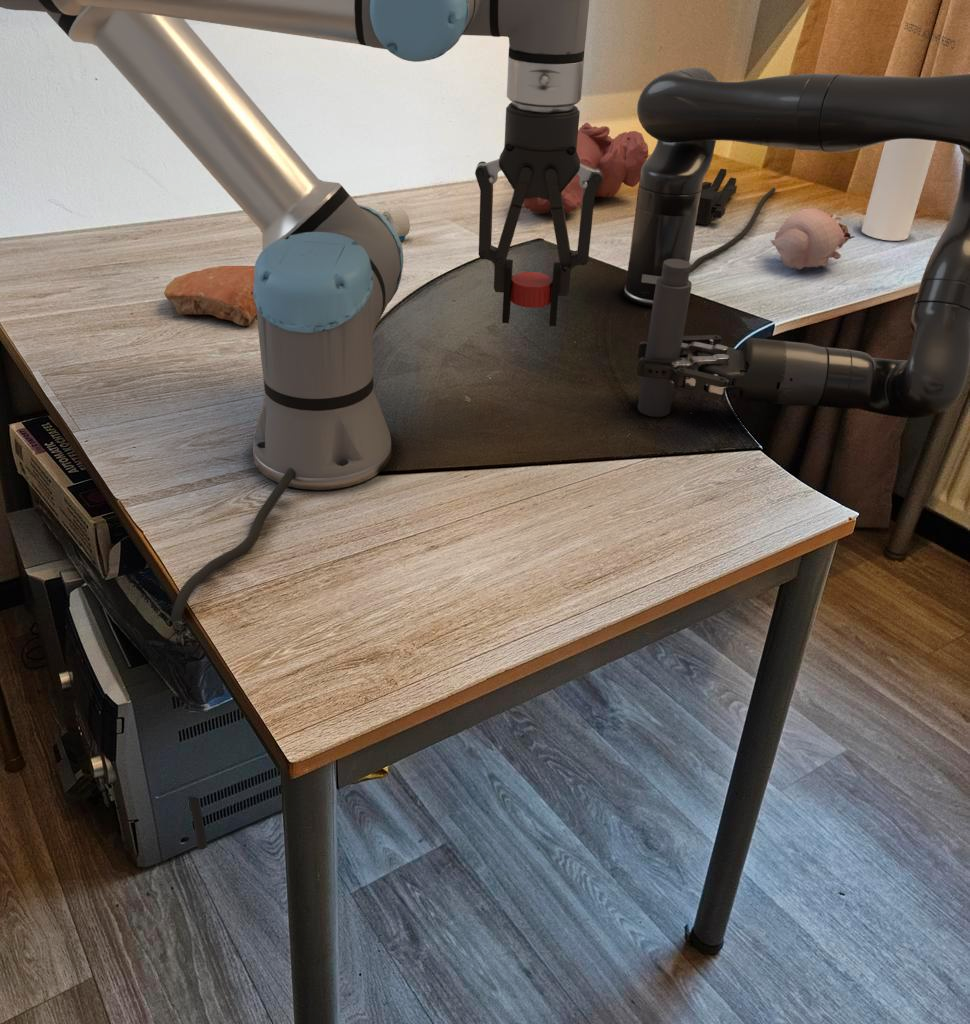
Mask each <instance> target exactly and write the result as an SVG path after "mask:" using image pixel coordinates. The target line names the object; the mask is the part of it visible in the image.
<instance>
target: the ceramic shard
mask: <svg viewBox="0 0 970 1024" xmlns="http://www.w3.org/2000/svg"><path fill="white" fill-rule="evenodd" d="M254 269H255V265H219V266H214V267H207V268H203V269H201V270H196V271H191V272H187V273H185V274H182V275H180V276H177V277H174V278H173V279H172V280H171V281H170V282H169V283H168V284H167V285H166V287H165V289H164V292H163V294H164V297H165V298H166V299H167V301H169V302H170V303H171V304H172V305H173V307H174V309H175V310H176V312H177V313H178V314H179V315H211V316H214V317H216V318H218V319H220V320H227V321H231V322H233V323H235V324H236V325H239V326H243V327H245V326H249V325H250V324H251V323H252V321H253V320H254V319H255V317H257V311H256V303H255V300H254V296H253V291H254V287H253V284H254Z"/></svg>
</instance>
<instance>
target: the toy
mask: <svg viewBox="0 0 970 1024" xmlns="http://www.w3.org/2000/svg"><path fill="white" fill-rule="evenodd" d="M842 221H843V220H842V217H840V216H838V215H837V214H835V213H833V214H831V215H830V214H828V213H827V212H826V211H823V210H820V209H817V208H802V209H799V210H797V211H796V212H793V213H792V214H791V215H790V216H789V217H787V218H786V219H785V220H784V221H783V223H782V224H781V226H780V227H779V229H778V231H775V236H774V239H770V240H769V241H770V243H771V244H772V245H773V247H775V249H776V250H777V251H776V252H778V254H779V256H780V258H781V260H782V262H783V264H785V266H787V267H788V268H791V269H796V270H797V271H798V270H799V271H800V270H801V271H802V270H803V269H804V268H817V269H819V267H820V266H821V268H824V267H826V266H828V264H829V260H830V259H832V258H833V259H835V260H839V259H841V257H842V254H840V253H839V252H838V250H840V249H842V248H843V246H844V245H845V244H846V243H847V242H848V241H849V240H852V239H854V238H855V236H851V233H850V231H849V228H848V224H847V223H842Z"/></svg>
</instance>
